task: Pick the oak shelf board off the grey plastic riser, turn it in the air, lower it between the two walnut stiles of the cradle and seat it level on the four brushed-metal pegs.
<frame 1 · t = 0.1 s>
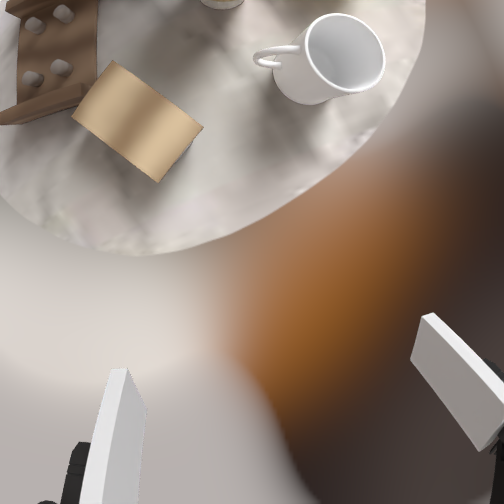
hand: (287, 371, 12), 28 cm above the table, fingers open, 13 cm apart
cradle: (56, 49, 26), on the table
board: (139, 120, 29), point 4 cm above the table, touching riser
mug: (293, 71, 32), on the table
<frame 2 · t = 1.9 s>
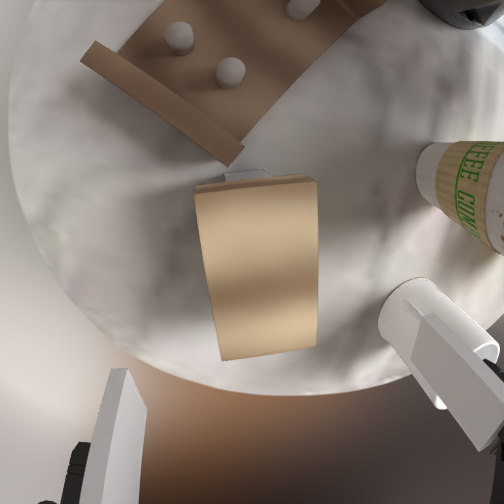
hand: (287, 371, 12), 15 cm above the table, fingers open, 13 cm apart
riser: (250, 243, 26), on the table
coffee cup: (437, 173, 25), on the table
cradle: (239, 28, 19), on the table
board: (257, 263, 22), point 4 cm above the table, touching riser
mug: (402, 302, 31), on the table
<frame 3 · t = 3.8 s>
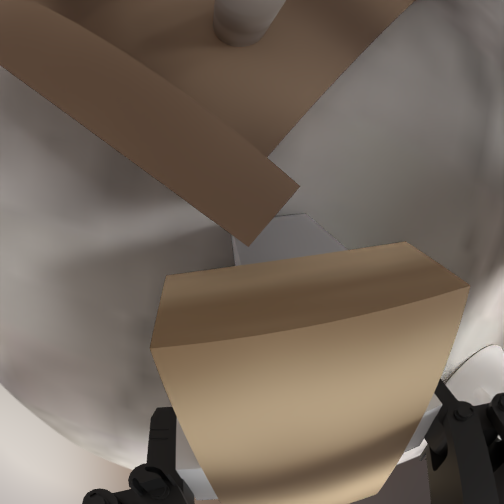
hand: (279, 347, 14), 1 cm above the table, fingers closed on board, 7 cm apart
riser: (276, 340, 14), on the table
board: (298, 402, 10), point 4 cm above the table, touching gripper, riser
mug: (464, 375, 19), on the table
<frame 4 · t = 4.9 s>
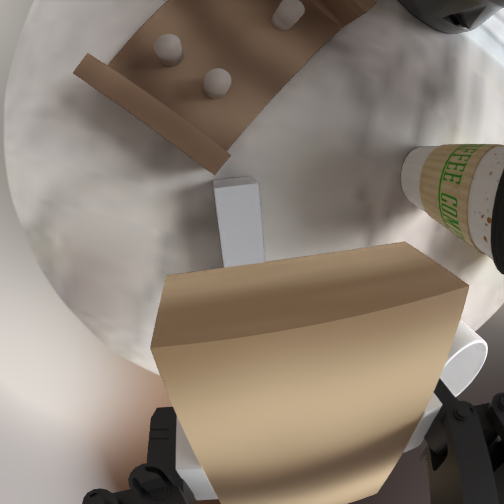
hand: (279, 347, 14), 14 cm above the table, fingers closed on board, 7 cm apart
riser: (238, 247, 26), on the table
coffee cup: (422, 176, 27), on the table
cradle: (226, 39, 20), on the table
board: (297, 402, 10), point 17 cm above the table, touching gripper
mug: (390, 303, 32), on the table
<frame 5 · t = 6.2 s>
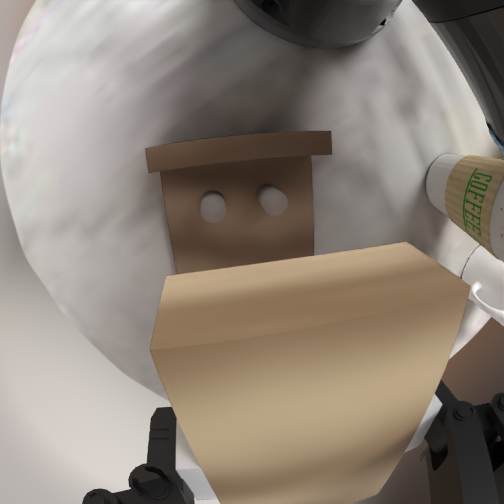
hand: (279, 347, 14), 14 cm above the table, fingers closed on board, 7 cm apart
coffee cup: (445, 181, 27), on the table, touching arm
cradle: (243, 240, 27), on the table
board: (298, 403, 10), point 18 cm above the table, touching gripper
mug: (473, 270, 33), on the table
when the fingers open (2 cm above the table, at t = 8.0 s): board drops 1 cm, resting on cradle.
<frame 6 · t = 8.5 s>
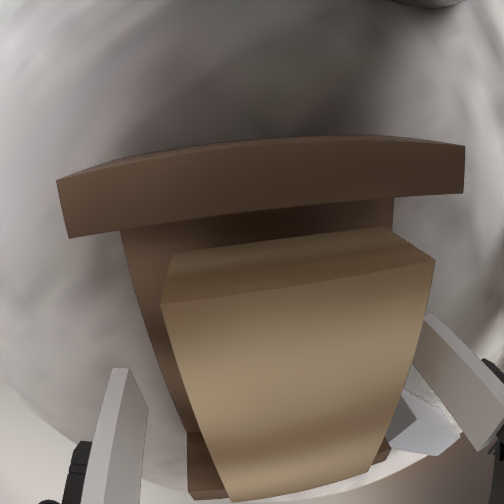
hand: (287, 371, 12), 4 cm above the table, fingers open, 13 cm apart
riser: (409, 410, 22), on the table
cradle: (270, 322, 16), on the table
board: (289, 376, 12), point 4 cm above the table, touching cradle
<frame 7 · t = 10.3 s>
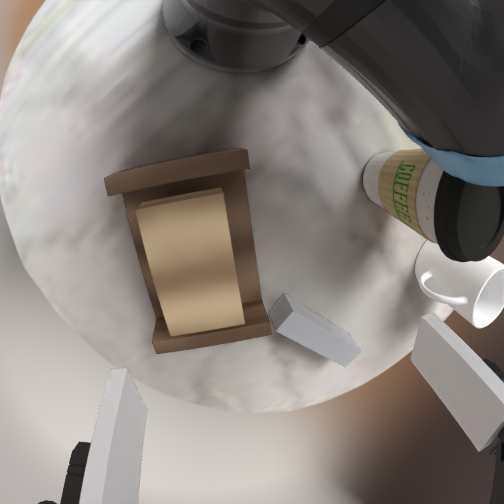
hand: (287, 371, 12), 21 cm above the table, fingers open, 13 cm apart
riser: (311, 323, 38), on the table
coffee cup: (384, 178, 32), on the table, touching arm
cradle: (194, 244, 32), on the table
board: (193, 258, 28), point 4 cm above the table, touching cradle
mug: (428, 260, 38), on the table
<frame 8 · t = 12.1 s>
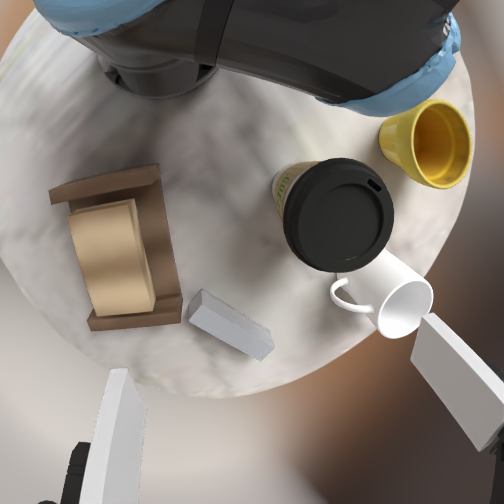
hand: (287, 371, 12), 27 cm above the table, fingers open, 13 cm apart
plant pot: (397, 138, 36), on the table
riser: (230, 318, 42), on the table
coffee cup: (296, 187, 37), on the table
cradle: (124, 243, 36), on the table
board: (116, 255, 32), point 4 cm above the table, touching cradle
mug: (352, 267, 42), on the table
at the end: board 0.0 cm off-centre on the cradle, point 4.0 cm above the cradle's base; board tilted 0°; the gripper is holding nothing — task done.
